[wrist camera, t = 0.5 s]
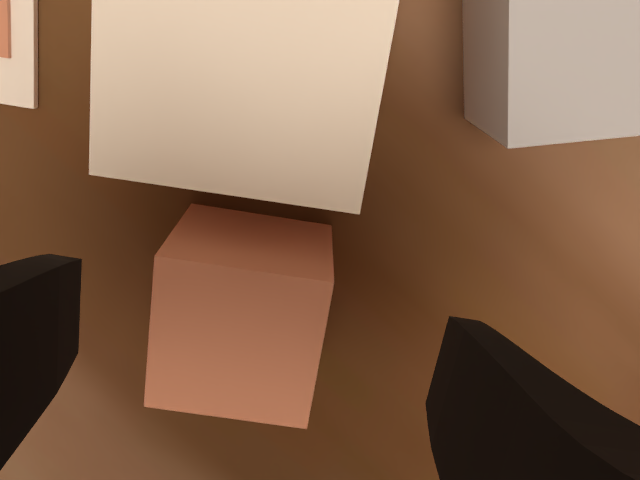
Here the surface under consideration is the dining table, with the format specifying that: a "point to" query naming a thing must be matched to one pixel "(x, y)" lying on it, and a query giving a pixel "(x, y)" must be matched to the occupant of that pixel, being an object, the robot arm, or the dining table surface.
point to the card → (19, 53)
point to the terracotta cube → (239, 316)
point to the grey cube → (552, 69)
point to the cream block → (240, 95)
